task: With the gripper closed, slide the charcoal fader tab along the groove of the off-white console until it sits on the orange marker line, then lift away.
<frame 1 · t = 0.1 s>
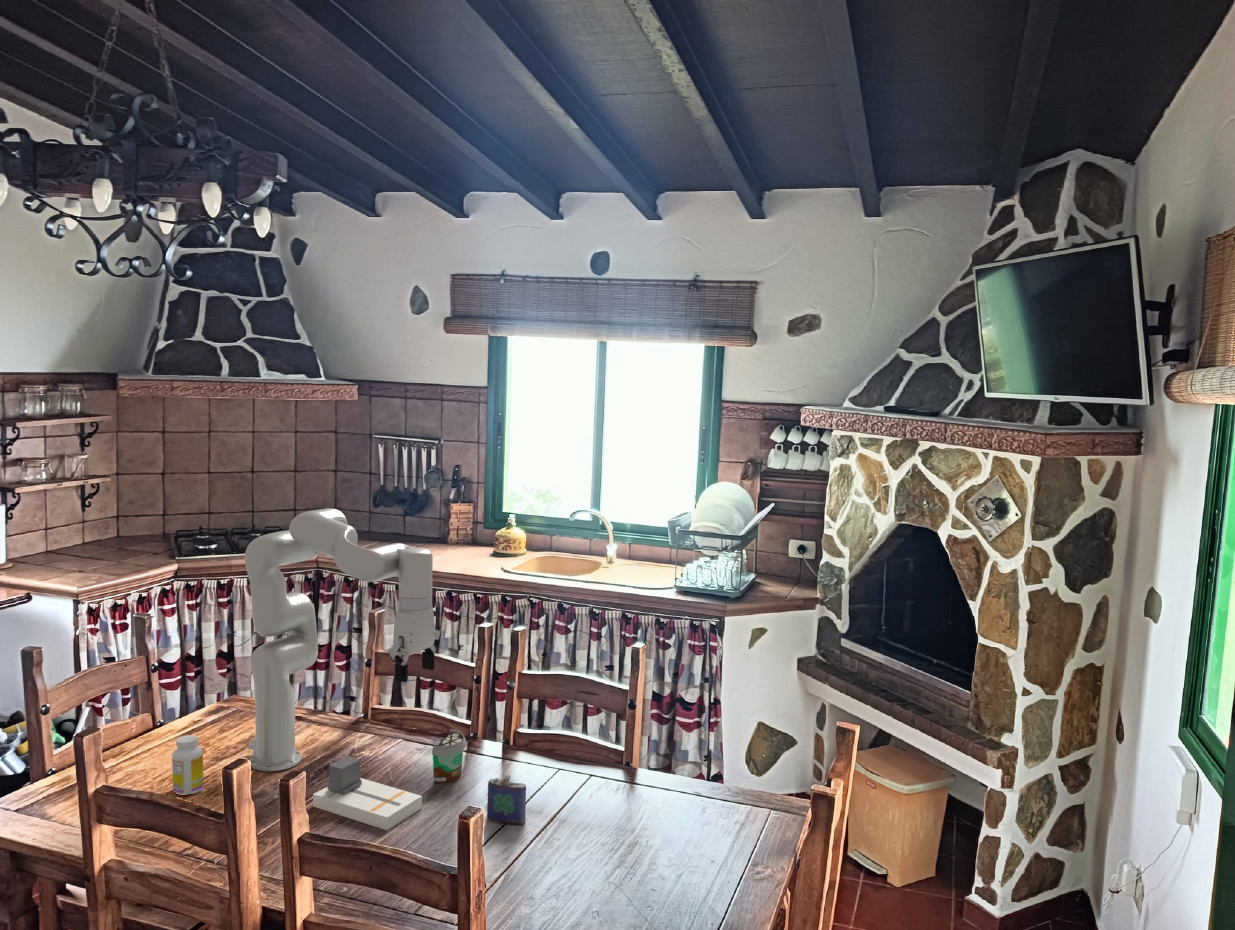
hand: (414, 674, 216), 31 cm above the table, tool pointing down, fingers open, 9 cm apart
food container: (452, 777, 234), on the table
flask: (505, 821, 212), on the table
console: (367, 807, 217), on the table
fader tab: (344, 774, 219), point 6 cm above the table, slide at 0.0 cm
supplement bottle: (188, 791, 222), on the table
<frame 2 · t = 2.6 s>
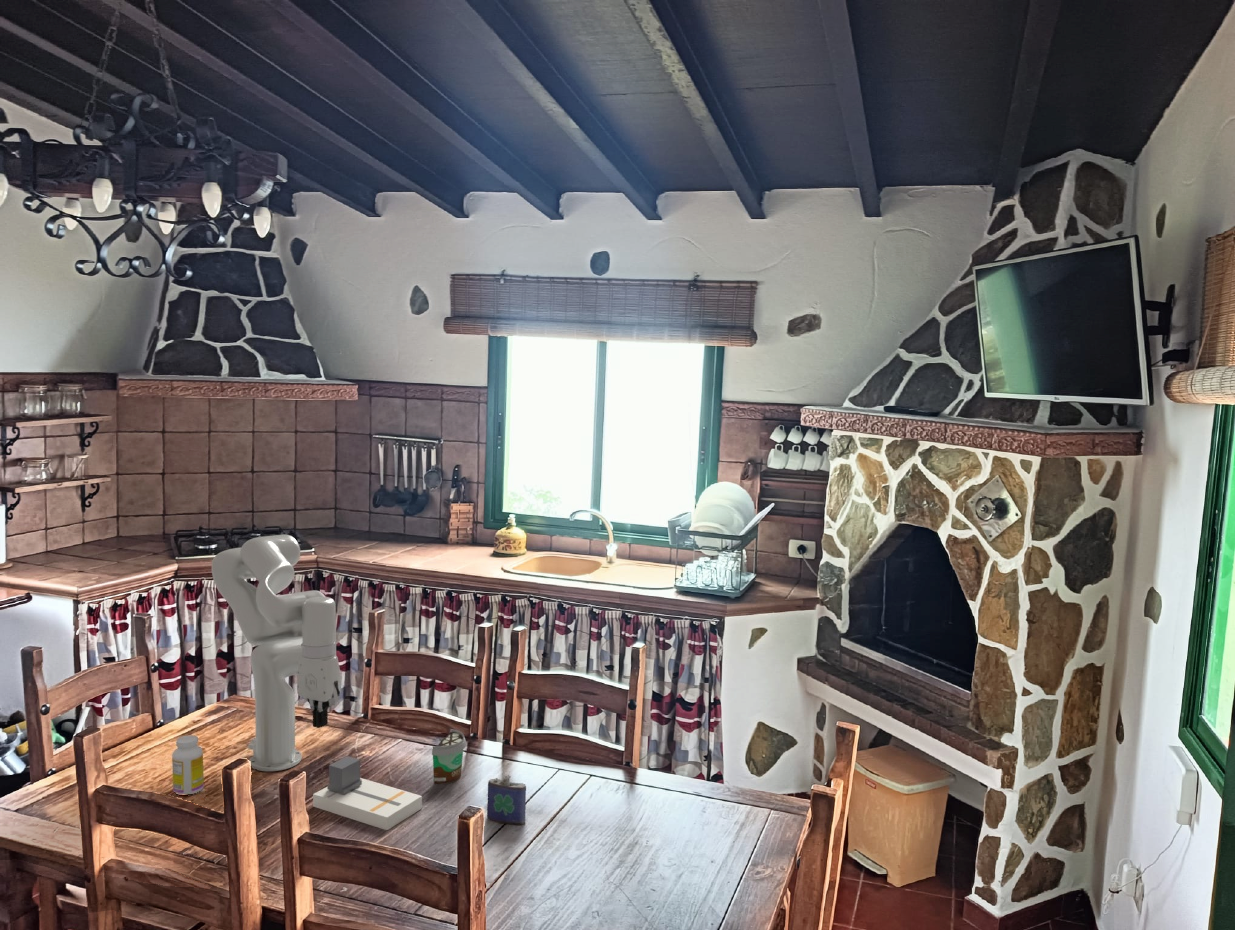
hand: (320, 725, 221), 17 cm above the table, tool pointing down, fingers closed
nothing on the table moved.
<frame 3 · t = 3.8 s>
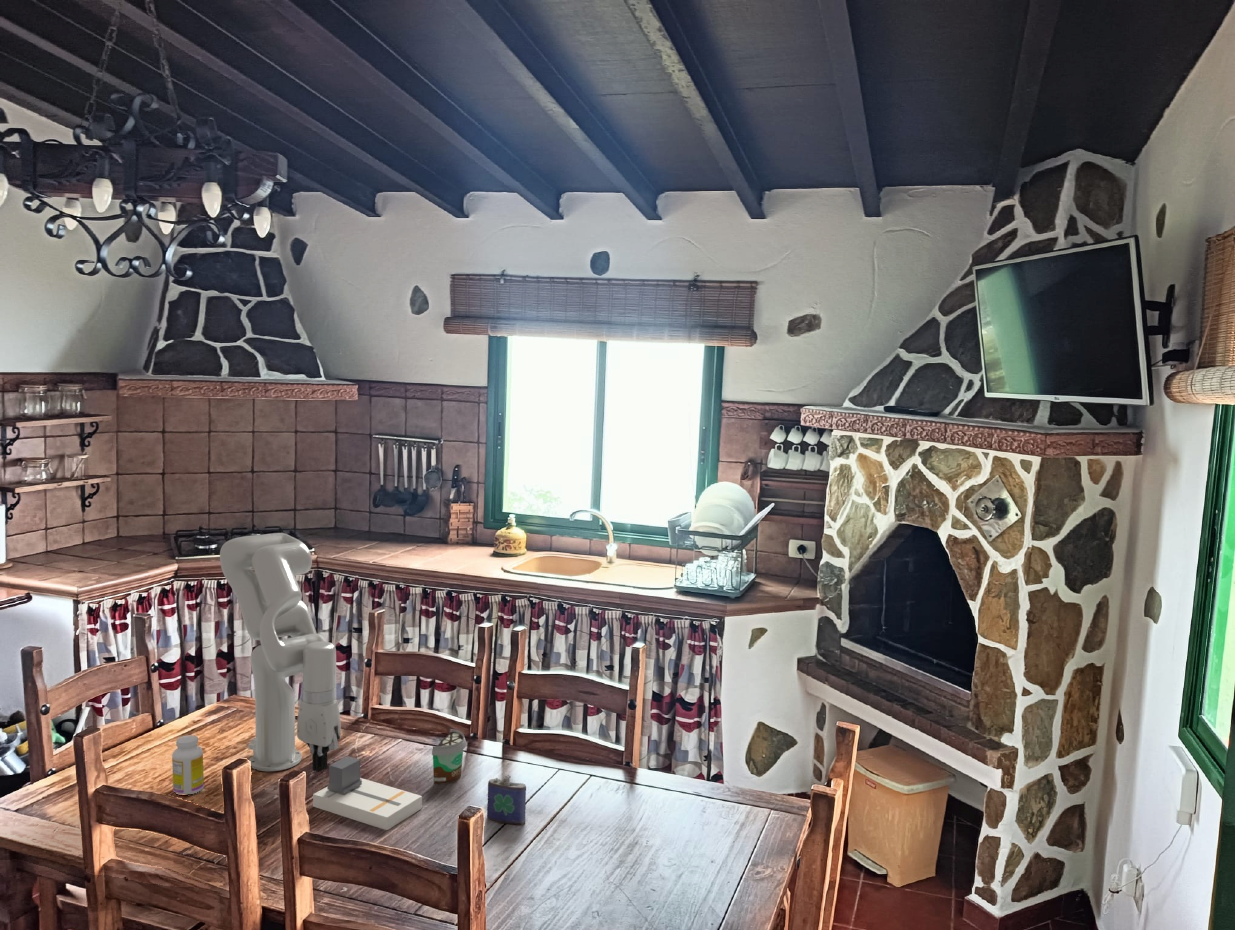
hand: (319, 769, 223), 6 cm above the table, tool pointing down, fingers closed
nothing on the table moved.
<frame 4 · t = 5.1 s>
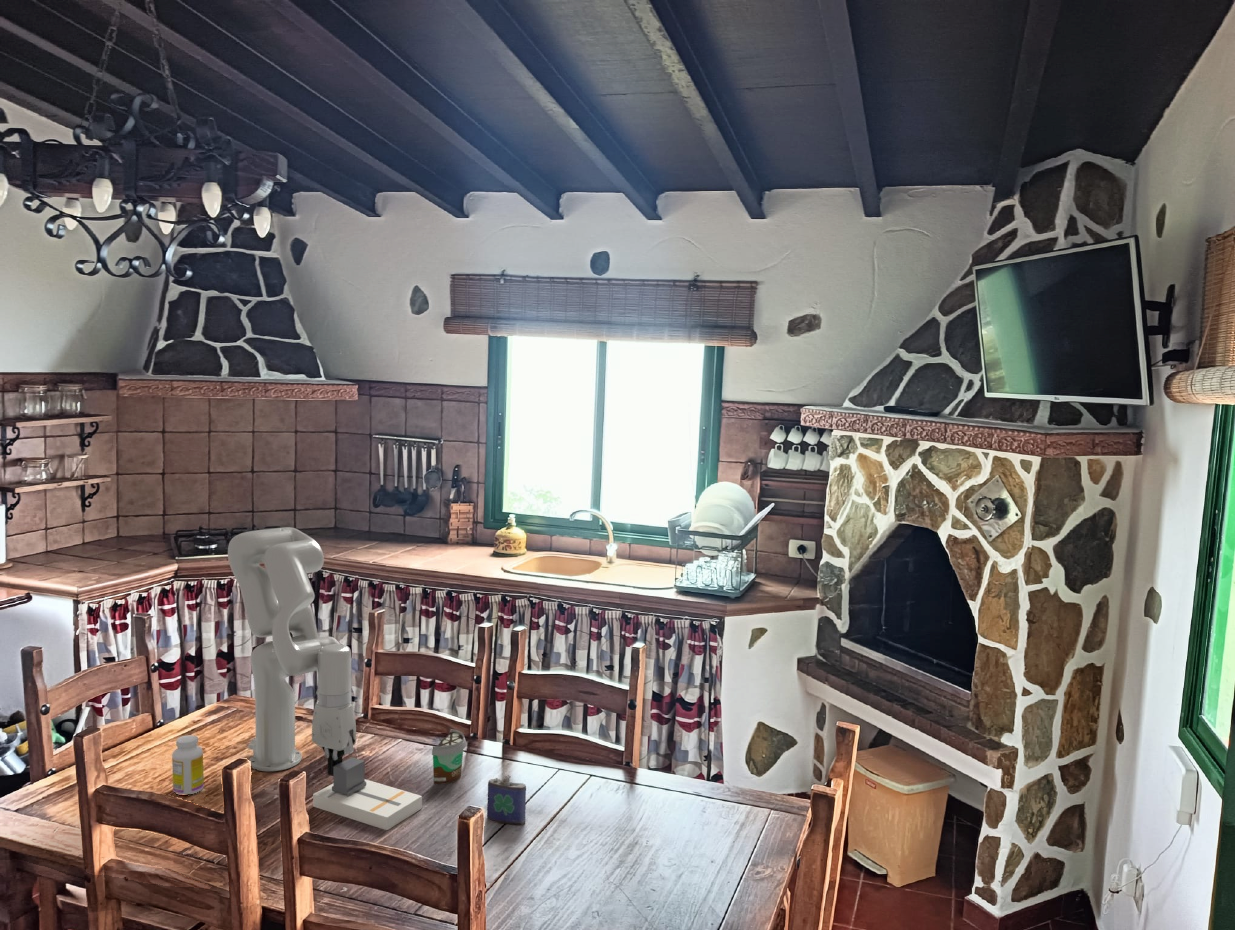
hand: (335, 773, 220), 6 cm above the table, tool pointing down, fingers closed
fader tab: (349, 775, 218), point 6 cm above the table, slide at 1.4 cm, touching gripper
everything else where it was.
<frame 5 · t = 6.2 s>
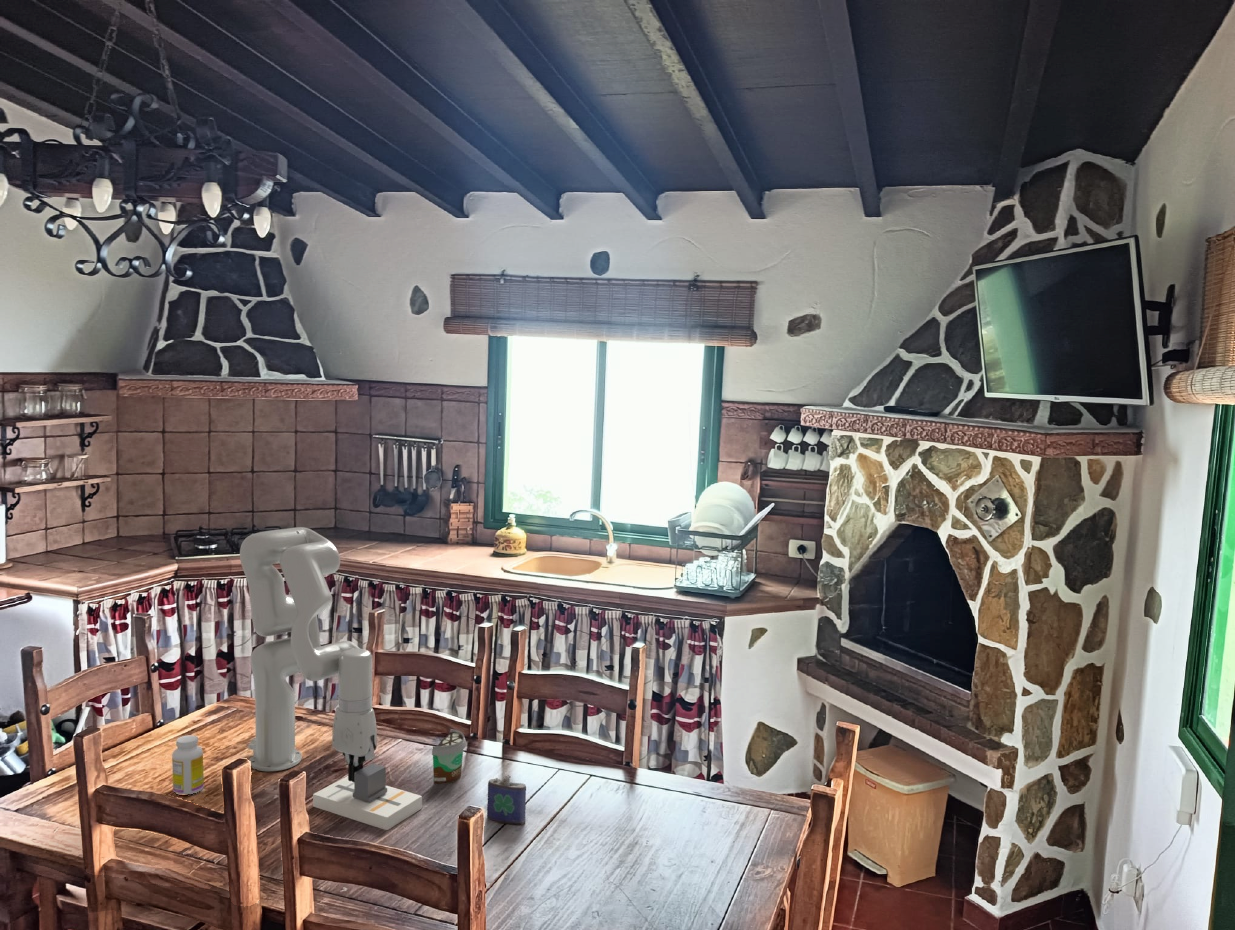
hand: (355, 779, 217), 6 cm above the table, tool pointing down, fingers closed
fader tab: (370, 782, 216), point 6 cm above the table, slide at 7.7 cm, touching gripper
everything else where it was.
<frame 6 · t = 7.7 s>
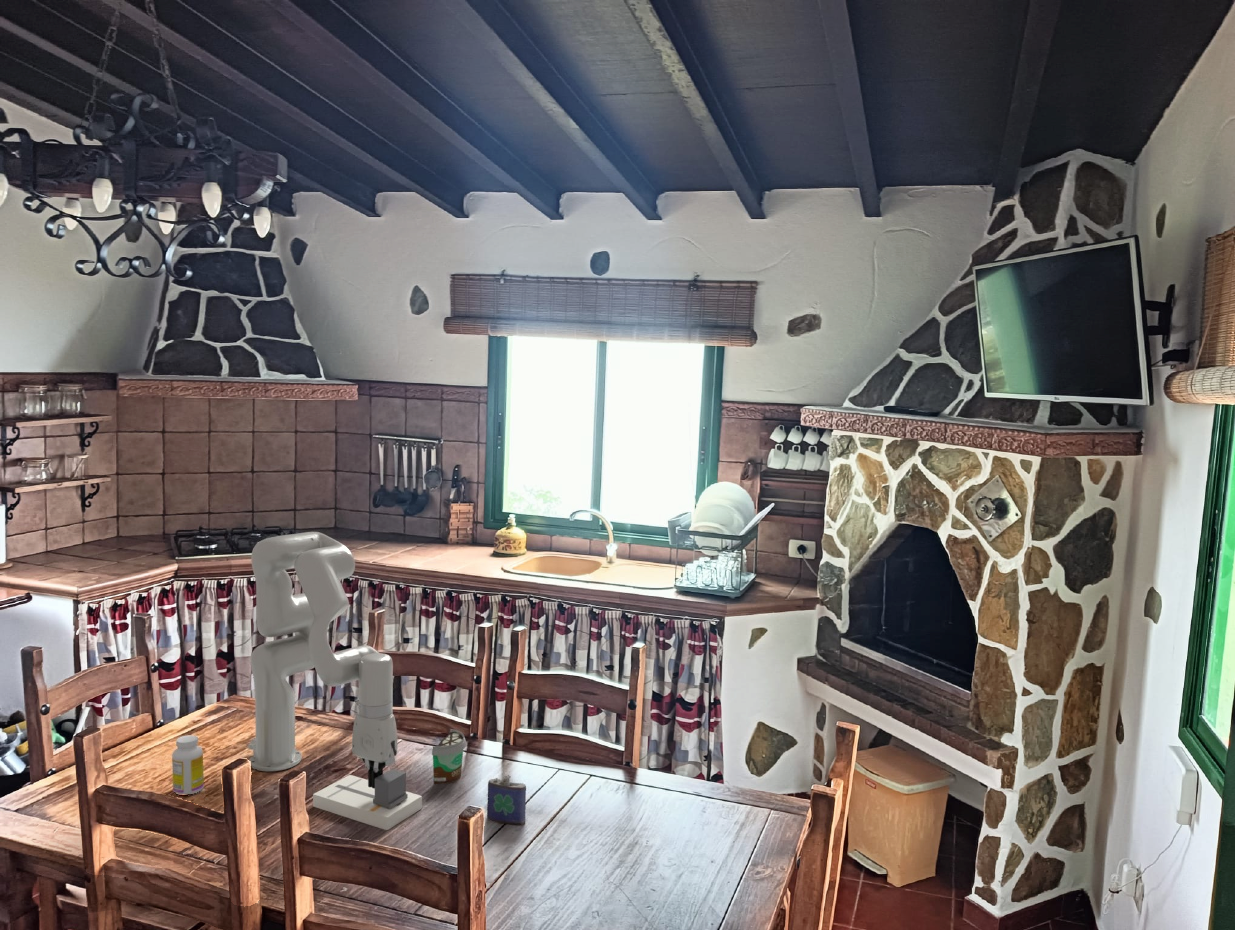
hand: (375, 785, 215), 6 cm above the table, tool pointing down, fingers closed
fader tab: (390, 788, 213), point 6 cm above the table, slide at 13.8 cm, touching gripper
everything else where it was.
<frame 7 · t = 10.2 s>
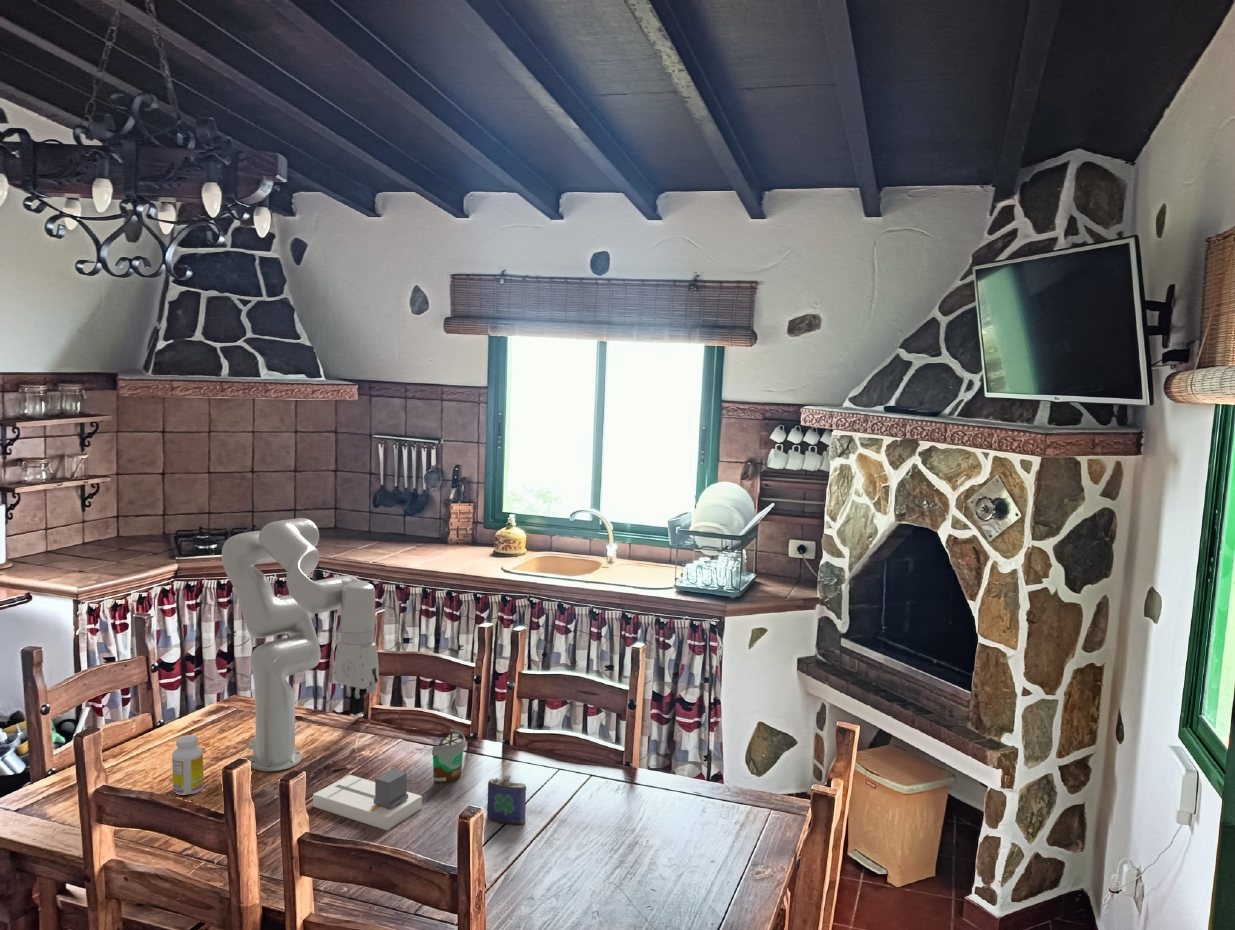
hand: (356, 712, 218), 21 cm above the table, tool pointing down, fingers closed
fader tab: (391, 788, 213), point 6 cm above the table, slide at 13.9 cm
everything else where it was.
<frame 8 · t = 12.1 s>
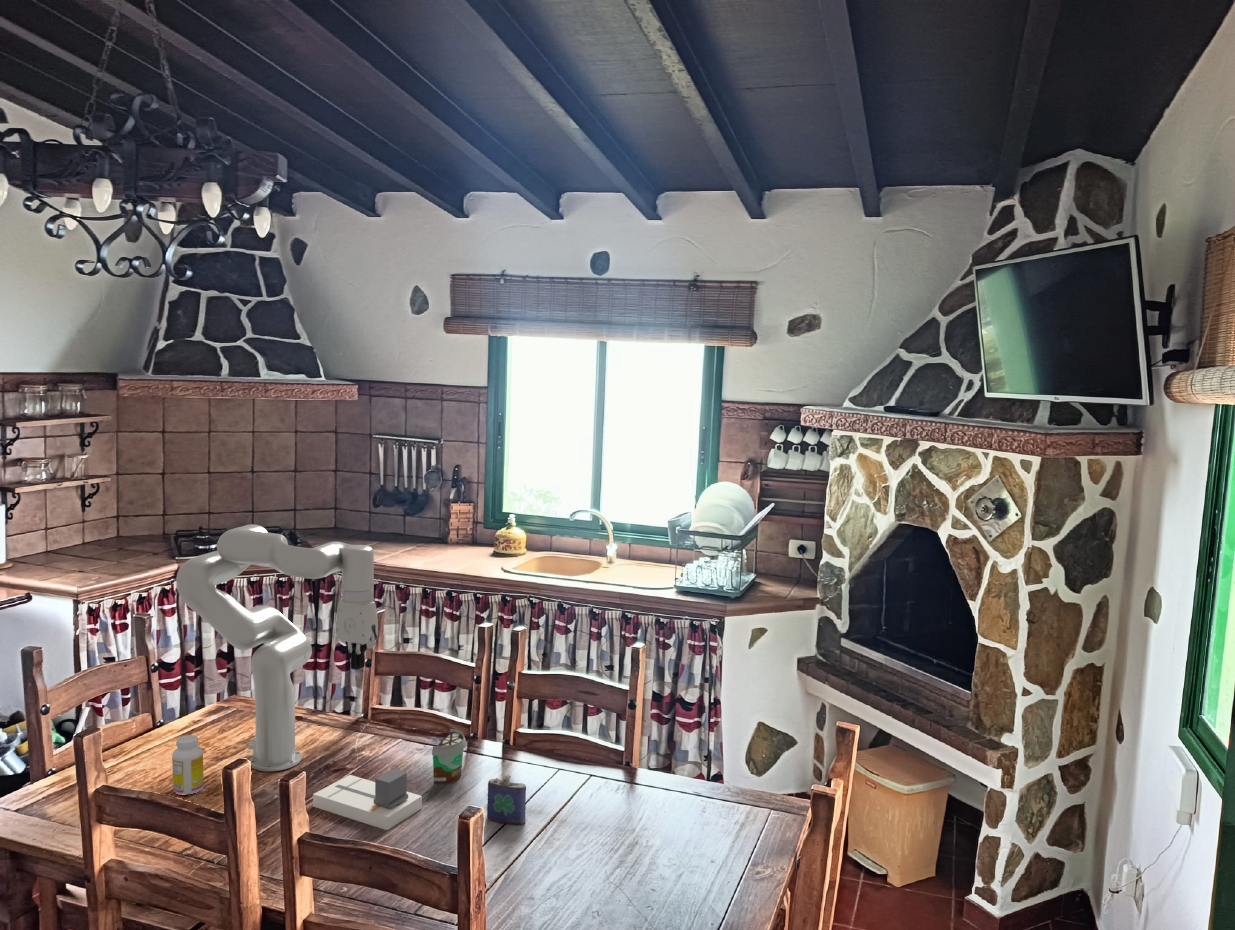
hand: (357, 667, 232), 27 cm above the table, tool pointing down, fingers closed
nothing on the table moved.
at the end: fader tab slide at 13.9 cm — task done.
